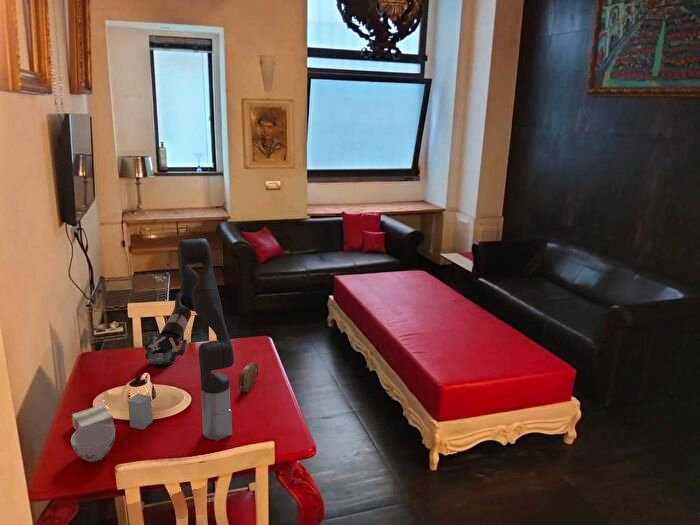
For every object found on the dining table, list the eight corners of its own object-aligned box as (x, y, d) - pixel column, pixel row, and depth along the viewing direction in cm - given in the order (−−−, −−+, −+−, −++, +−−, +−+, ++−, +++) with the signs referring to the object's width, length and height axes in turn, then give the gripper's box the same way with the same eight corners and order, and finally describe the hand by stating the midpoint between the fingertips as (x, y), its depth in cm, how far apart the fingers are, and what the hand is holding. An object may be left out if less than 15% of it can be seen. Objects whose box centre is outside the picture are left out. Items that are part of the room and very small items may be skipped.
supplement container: (165, 355, 238) (164, 330, 235) (178, 363, 232) (177, 337, 228) (143, 363, 230) (141, 337, 227) (156, 371, 224) (154, 344, 221)
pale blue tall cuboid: (152, 421, 188) (150, 396, 185) (143, 429, 183) (141, 403, 181) (139, 418, 190) (137, 393, 187) (130, 426, 185) (127, 400, 182)
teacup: (93, 473, 161) (91, 450, 158) (63, 462, 165) (60, 439, 163) (131, 446, 174) (129, 424, 172) (102, 436, 179) (100, 415, 176)
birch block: (114, 429, 183) (112, 416, 182) (83, 440, 177) (81, 427, 175) (103, 416, 190) (102, 404, 189) (73, 427, 184) (71, 414, 182)
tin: (244, 396, 207) (244, 376, 205) (237, 394, 208) (236, 375, 205) (258, 378, 221) (258, 359, 219) (251, 377, 222) (251, 358, 220)
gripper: (155, 318, 203) (138, 349, 190) (192, 324, 203) (178, 355, 190) (156, 332, 208) (140, 363, 195) (193, 338, 208) (179, 369, 195)
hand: (158, 359), depth 192 cm, fingers open, 8 cm apart
